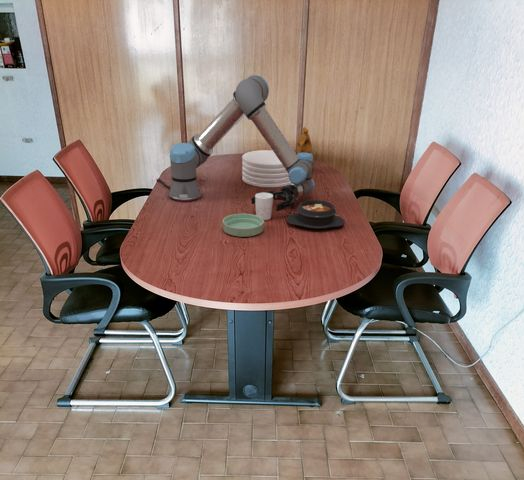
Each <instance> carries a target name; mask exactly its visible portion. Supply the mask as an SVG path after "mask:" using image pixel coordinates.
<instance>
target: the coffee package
mask: <svg viewBox="0 0 524 480" xmlns="http://www.w3.org/2000/svg"><path fill="white" fill-rule="evenodd" d="M301 131H302V133H301V134H300V136H299V138H298V139H297V141H296V148H295V153H296V155H297V154H299V153H302V152H306V153H311V154H312V155H313V156H314V151H313V145H312V140H311V137H310V134H309V129H308V128H306V127H305V126H304V127H302V128H301ZM313 167H314V163H313V164H312V170H313V169H314V168H313Z"/></svg>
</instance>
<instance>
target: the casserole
mask: <svg viewBox="0 0 524 480" xmlns="http://www.w3.org/2000/svg"><path fill="white" fill-rule="evenodd" d="M296 212H297V213H292V214H290V215H288V216H287V217H286V221H287V223H288V224H290V225H293V226H299V227H302V228H303V227H304V228H308V229H313V230H314V229H315V230H322V229H329V228H336V227H341V226H344V224H345V219H344V218H343V217H341V216H339V215H336V213H337V210H336V208H335V205H334V204H333V203H331V202H329V201H326V200H320V199H307V200H304V201H301V202H300V203H299V204H298V206H297V207H296Z"/></svg>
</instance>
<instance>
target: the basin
mask: <svg viewBox="0 0 524 480" xmlns="http://www.w3.org/2000/svg"><path fill="white" fill-rule="evenodd" d="M221 224H222V230H223V232H224V233H226V234H228V235H230V236H233V237H239V238H249V237H254V236H257V235H260V234H261V233H263V232H264V229H265V220H263V219H262V218H261V217H259V216H256V214H252V213H234V214H228V215H227V216H225V217H224V218H223V219H222V223H221Z"/></svg>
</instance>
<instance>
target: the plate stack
mask: <svg viewBox="0 0 524 480" xmlns="http://www.w3.org/2000/svg"><path fill="white" fill-rule="evenodd" d="M241 159H242V160H241V165H242V166H241V169H242V171H241V175H242V178H241V180H242V181H243V182H244V183H245V184H247V185H250V186H254V187H259V188H283V187H284V186H287V185H289V184H292V183H291V182H290V180H289V174H288V172H287V171H286V169H285V168H284V166H283V165H282V163H281V162H280V160H279V159H278V158H277V156H276V155H275V153H274V152H273V150H272V149H260V150H259V149H257V150H252V151H248V152H246V153H244V154H242V156H241Z"/></svg>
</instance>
